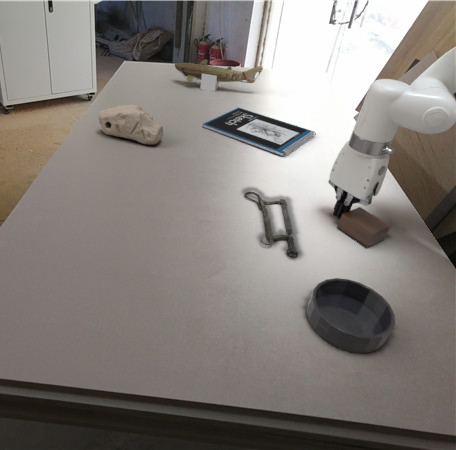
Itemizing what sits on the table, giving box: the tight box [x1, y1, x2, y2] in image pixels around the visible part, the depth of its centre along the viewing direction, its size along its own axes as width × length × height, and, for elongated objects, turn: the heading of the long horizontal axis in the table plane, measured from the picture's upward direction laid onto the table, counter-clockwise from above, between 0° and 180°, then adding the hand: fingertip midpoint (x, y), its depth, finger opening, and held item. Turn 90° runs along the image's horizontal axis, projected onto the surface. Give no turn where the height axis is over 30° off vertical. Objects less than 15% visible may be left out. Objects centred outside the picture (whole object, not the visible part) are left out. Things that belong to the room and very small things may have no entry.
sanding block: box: [336, 206, 392, 249], centre depth 89 cm, size 6×8×4 cm
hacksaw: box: [244, 191, 299, 258], centre depth 92 cm, size 24×10×2 cm, turn 172°
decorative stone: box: [98, 104, 165, 146], centre depth 122 cm, size 20×8×10 cm, turn 67°
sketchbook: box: [202, 107, 317, 158], centre depth 132 cm, size 22×30×2 cm
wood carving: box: [174, 59, 264, 92], centre depth 161 cm, size 9×35×11 cm, turn 70°
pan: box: [306, 277, 396, 354], centre depth 69 cm, size 13×13×4 cm
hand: (339, 215), depth 94 cm, fingers closed
